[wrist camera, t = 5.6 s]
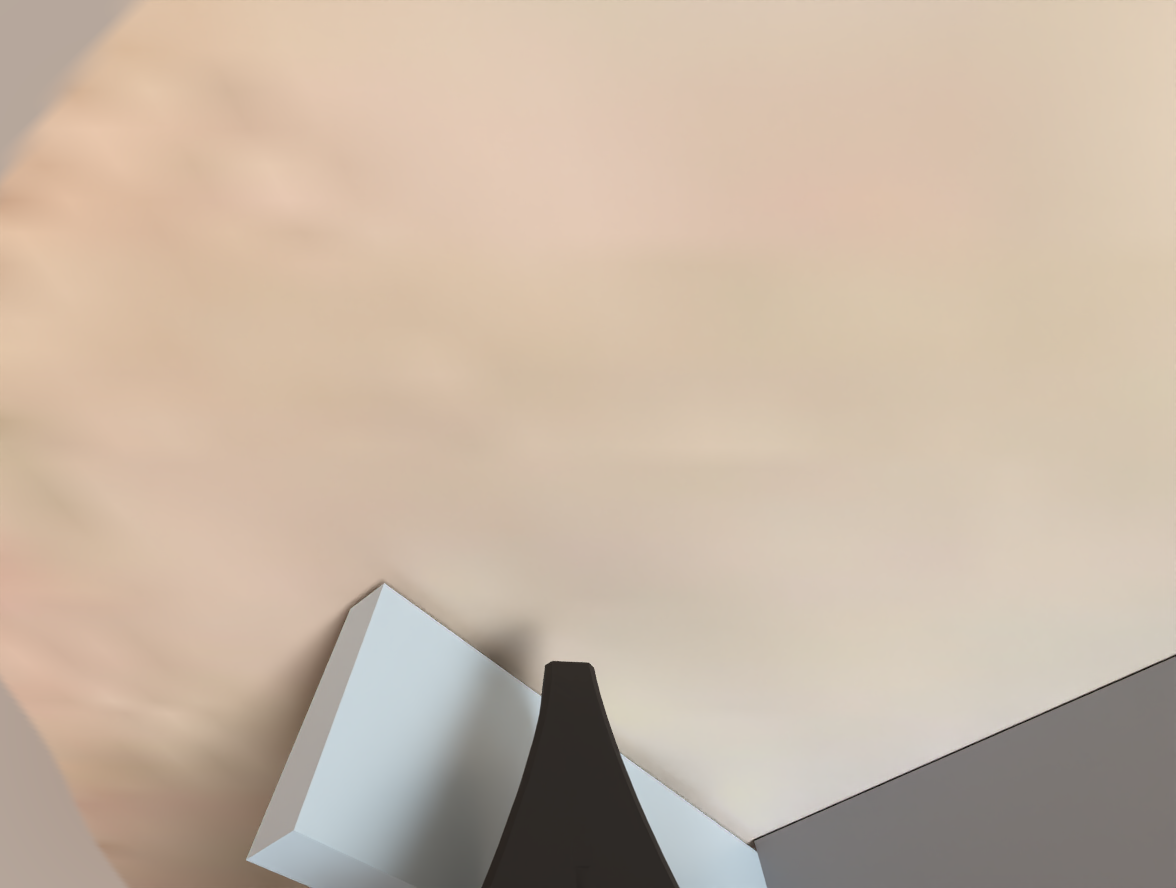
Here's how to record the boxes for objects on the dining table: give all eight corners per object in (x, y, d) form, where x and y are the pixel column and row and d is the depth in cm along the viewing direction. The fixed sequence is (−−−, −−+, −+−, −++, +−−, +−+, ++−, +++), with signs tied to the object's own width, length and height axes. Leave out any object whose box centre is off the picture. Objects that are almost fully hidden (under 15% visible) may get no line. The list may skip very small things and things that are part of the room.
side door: (311, 637, 12) (192, 893, 8) (384, 583, 11) (293, 830, 7) (695, 879, 18) (735, 1098, 14) (757, 851, 17) (818, 1072, 13)
